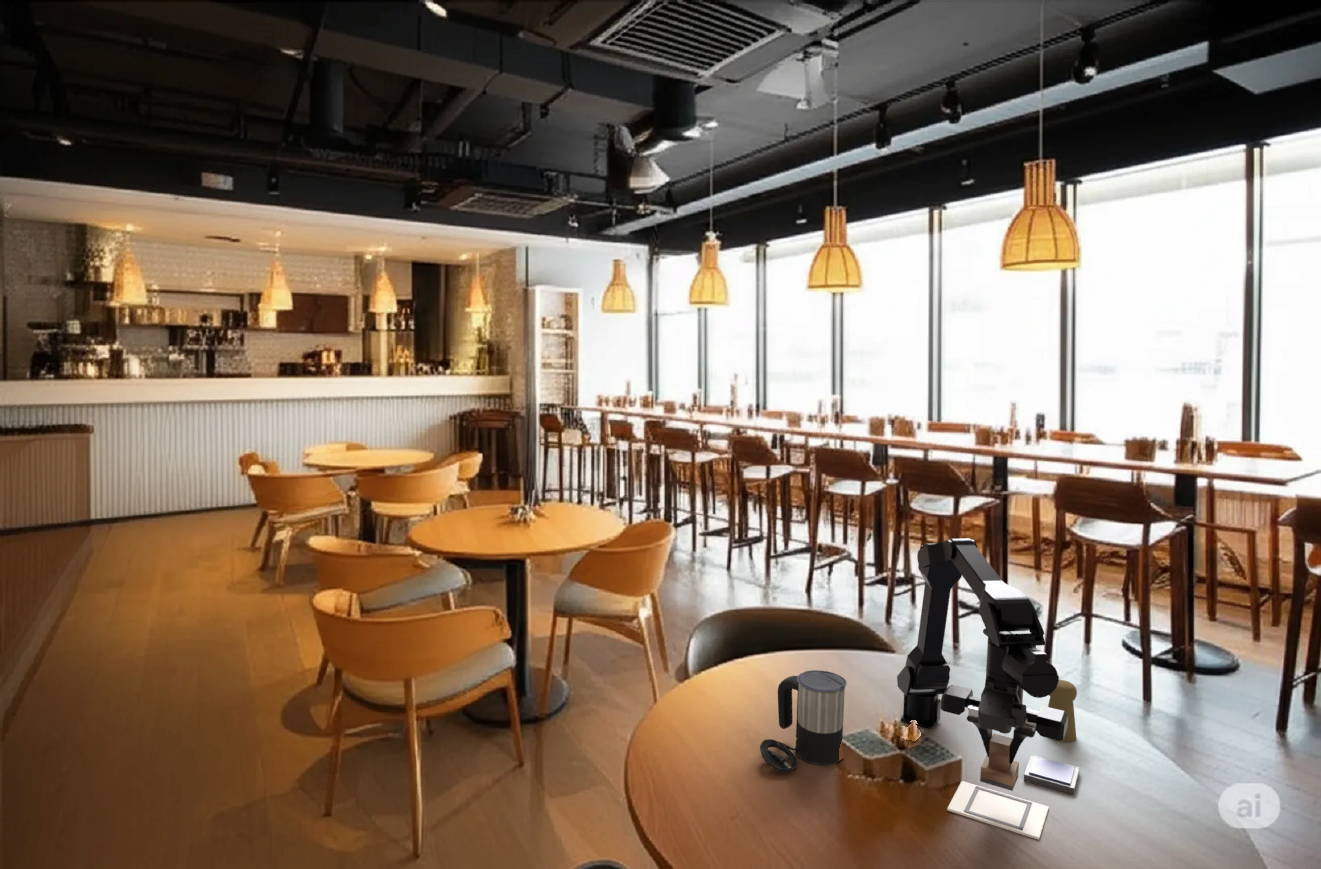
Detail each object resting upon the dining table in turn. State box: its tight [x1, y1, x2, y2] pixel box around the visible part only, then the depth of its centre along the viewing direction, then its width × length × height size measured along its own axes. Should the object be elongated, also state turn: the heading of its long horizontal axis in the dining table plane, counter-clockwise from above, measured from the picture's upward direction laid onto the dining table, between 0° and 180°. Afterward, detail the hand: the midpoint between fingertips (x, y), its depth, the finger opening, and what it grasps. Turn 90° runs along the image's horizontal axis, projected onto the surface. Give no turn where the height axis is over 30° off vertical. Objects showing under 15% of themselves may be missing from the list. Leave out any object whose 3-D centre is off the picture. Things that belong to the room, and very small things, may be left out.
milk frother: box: [759, 669, 848, 773], centre depth 146 cm, size 14×16×15 cm
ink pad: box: [1023, 754, 1080, 796], centre depth 140 cm, size 8×8×2 cm
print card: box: [947, 780, 1050, 841], centre depth 131 cm, size 14×10×1 cm
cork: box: [1047, 679, 1078, 743], centre depth 155 cm, size 6×6×11 cm
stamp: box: [979, 733, 1020, 791], centre depth 130 cm, size 5×5×7 cm
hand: (1000, 759), depth 130 cm, fingers closed on stamp, 3 cm apart
